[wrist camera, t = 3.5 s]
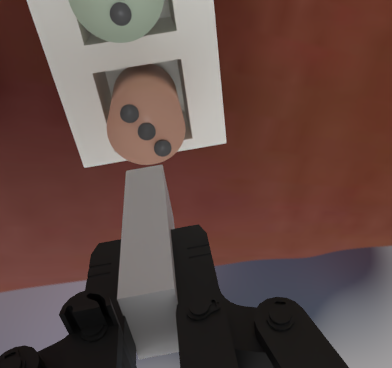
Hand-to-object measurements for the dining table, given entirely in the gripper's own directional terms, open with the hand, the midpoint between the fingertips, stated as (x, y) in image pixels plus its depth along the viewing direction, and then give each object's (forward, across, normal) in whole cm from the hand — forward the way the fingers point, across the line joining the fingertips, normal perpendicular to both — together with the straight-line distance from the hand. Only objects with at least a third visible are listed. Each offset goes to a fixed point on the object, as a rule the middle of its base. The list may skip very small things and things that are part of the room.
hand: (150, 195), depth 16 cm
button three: (+12, 0, 0) cm, 12 cm away
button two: (+12, 0, +7) cm, 14 cm away
